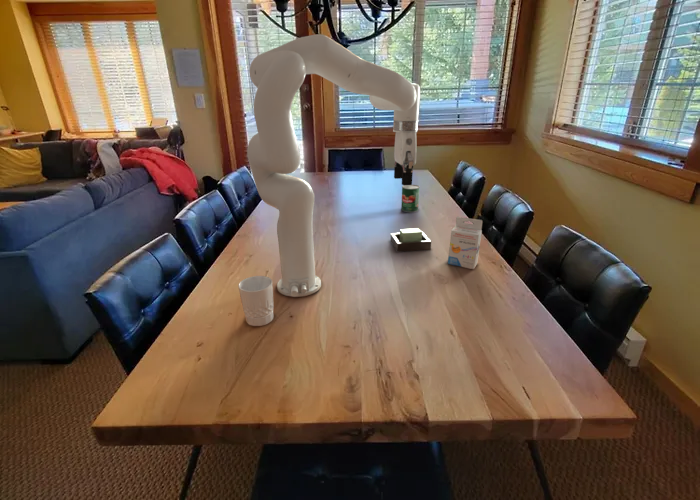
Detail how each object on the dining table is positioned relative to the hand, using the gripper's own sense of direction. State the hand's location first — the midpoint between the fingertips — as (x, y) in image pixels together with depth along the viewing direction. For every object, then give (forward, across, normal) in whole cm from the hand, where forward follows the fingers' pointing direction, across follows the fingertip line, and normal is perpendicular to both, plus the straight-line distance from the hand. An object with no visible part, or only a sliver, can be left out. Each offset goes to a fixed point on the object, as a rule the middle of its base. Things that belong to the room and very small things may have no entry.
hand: (402, 181), depth 123 cm
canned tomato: (+24, +43, -17) cm, 52 cm away
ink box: (+24, -16, -17) cm, 33 cm away
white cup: (+25, -37, +45) cm, 64 cm away
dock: (+24, +2, -5) cm, 24 cm away
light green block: (+23, +2, -5) cm, 24 cm away
